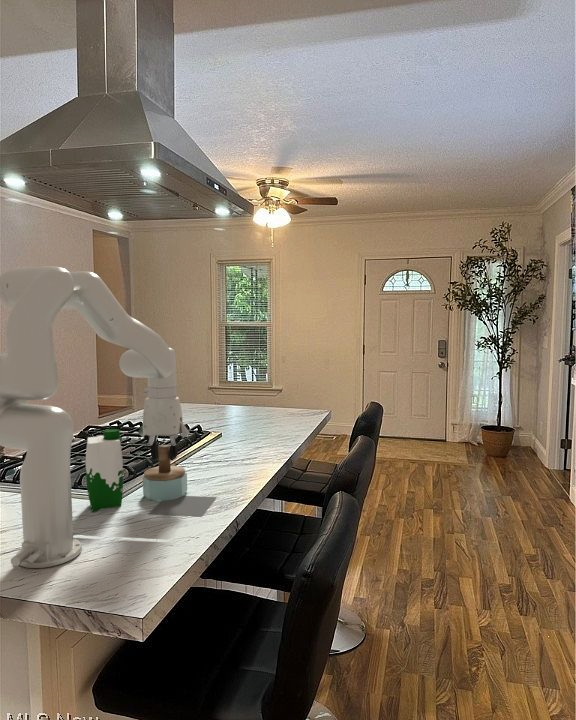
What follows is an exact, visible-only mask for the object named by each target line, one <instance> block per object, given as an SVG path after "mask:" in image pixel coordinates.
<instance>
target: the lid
mask: <svg viewBox="0 0 576 720" xmlns="http://www.w3.org/2000/svg"><path fill="white" fill-rule="evenodd" d="M170 446H171V445H169V444H160V445H159V446H158V458H157V459H158V466H155V467H151V468H149V469H145V471H144V472H143V474H144V475H143V476H144V477H145V478H146V479H148V480H152V481H168V480H174V479H178V478H181V477H183V476H184V475H185V472H186V469H185V468H184V467H183V466H179V465H172V463H171V460H170Z"/></svg>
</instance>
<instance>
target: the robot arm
mask: <svg viewBox="0 0 576 720" xmlns="http://www.w3.org/2000/svg"><path fill="white" fill-rule="evenodd" d="M0 301H1V302H2V303H3V304H4V305H5V306H8V307H9V308H11V310H10V311H9V313H8V315H7V318H6V322H5V330H4V331H5V344H6V352H4V353H0V447H4V448H6V449H13V450H21V451H26V455H25V457H24V460H23V463H22V465H21V468H20V473H19V484H20V485H19V486H20V499H21V500H20V502H21V519H22V537H23V541H22V542H21V548H20V549H19V550H18V551H17V552H16V555H14V556H12V558H11V559H10V563H11V566H13V567H17V566H21V567H23V568H29V569H44V568H52V567H55V566H59V565H62V564H65V563H67V562H70V561H72V560H73V559H75V558H77V556H79V555H80V553H81V552H82V550H83V547H82V546H83V545H82V542H81V541H80V540H78V539H76V538H74V525H73V524H74V523H73V522H74V520H73V503H72V501H73V500H72V499H73V498H72V481H71V453H72V452H71V451H72V443H73V438H74V427H75V426H74V421H73V419H72V417H71V415H70V414H69V413H68V412H67V411H65V410H64V409H63V408H60V407H57V406H53V405H45V404H44V405H43V404H35V403H33V404H32V403H31V404H29V403H28V401H44V400H48V399H50V398H51V397H53V396H54V395H55V394H56V393H57V391H58V388H59V372H58V371H59V370H58V363H57V358H56V357H57V356H56V351H55V349H56V348H55V345H54V335H53V328H54V323H55V320H56V318H57V316H58V314H59V312H60V311H61V310H75V311H76V312H78V313H79V314H80V316H81V317H82V318H83V319H84V320H85V321H86V323H87V324H88V326H90V327H91V329H92V330H93V331H94V332H95V333H96V335H97V336H98V337H99V338H100V339H102V340H104V341H107V342H108V343H110V344H113V345H117V346H121V347H123V348H127V349H128V350H126V351H125V352H123V353H122V354H121V356H120V358H119V361H118V363H119V369H120V371H121V372H122V373H123V374H124V375H125V376H127V377H130V378H134V379H135V378H137V379H139V378H141V379H147V387H146V388H144V389H143V390H142V391H143V394H146V395H147V397H146V398H145V399H144V404H143V412H142V426H141V427H140V428H139V430H138V431H137V433H138V435H139V436H141V437H142V438H144V440H145V441H146V442H147V443H148V445H149V446H150V456H151V459H152V460H153V461H154V460H157V459H158V446H160V445H159V443H158V442H157V440H158V436H163V437H164V436H165V437H169V439H170V444H171V445H170V461H174V460H175V459H177V457H178V455H179V454H178V450H179V449H178V448H179V447H178V444H179V443H180V442H181V441H182V440H183V439H184V438H186V437H187V436H188V435H190V431H189V429H188V428H187V427H186V425H185V424H184V422H183V421H184V420H183V411H182V405H181V401H180V398H179V397H178V396H177V365H176V364H177V363H176V362H177V360H176V352H175V349H174V348H171V347H169V346H168V345H167V343H166V341H165V340H164V339H163V338H162V337H161V335H160V334H158V332H155V330H153V329H151V328H150V327H148V326H147V325H145V324H144V323H142V322H141V321H139V320H138V319H135V318H134V317H132V316H130V315H129V314H128V313H127V311H126V310H125V309H124V307H123V306H122V305H121V303H120V302H119V300H118V299H117V298H116V297H115V295H114V294H113V293H112V291H111V290H110V288H109V287H108V286H107V285H106V283H105V282H104V281H103V279H102V278H101V277H100V276H99V275H98V274H96V273H94V272H92V271H68V270H67V269H66V268H63V267H60V266H56V265H41V266H29V267H13V268H8V269H7V270H5V271H3V272H2V273H1V274H0ZM179 433H181V434H179ZM178 434H179V435H178Z"/></svg>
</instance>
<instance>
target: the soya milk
mask: <svg viewBox="0 0 576 720" xmlns="http://www.w3.org/2000/svg"><path fill="white" fill-rule="evenodd" d="M86 441H87V442H86V449H85V450H86V452H85V479H86V489H87V491H86V492H87V495H88V501H89V504H90V508H91V512H92V513H94V512H99V511H100V510H102V509H110V508H118V507H122V501H123V493H124V474H123V473H124V471H123V470H124V469H123V468H124V467H123V454H122V453H123V452H122V442H121V441H122V438H121V433H120V429H119V428H110V429H109V428H107V429H105V430H103V435H97V436H90V437H89V436H88V437H87V440H86Z"/></svg>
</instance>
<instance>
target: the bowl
mask: <svg viewBox="0 0 576 720" xmlns="http://www.w3.org/2000/svg"><path fill="white" fill-rule="evenodd" d="M187 491H188V472H187V471H185V475H184V476H183V477H181V478H178V479H174V480H168V481H152V480H148V479H146V478H145V477H144V475H143V476H142V494H143V495H144V497H145V498H146V499H147V500H149V501H155V502H161V501H166V500H173V499H177V498H180V497H182V496H186V493H187Z"/></svg>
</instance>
